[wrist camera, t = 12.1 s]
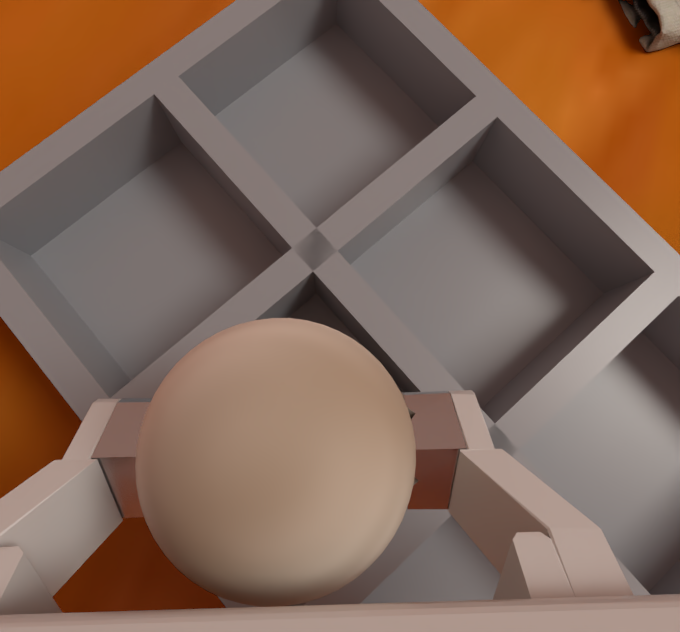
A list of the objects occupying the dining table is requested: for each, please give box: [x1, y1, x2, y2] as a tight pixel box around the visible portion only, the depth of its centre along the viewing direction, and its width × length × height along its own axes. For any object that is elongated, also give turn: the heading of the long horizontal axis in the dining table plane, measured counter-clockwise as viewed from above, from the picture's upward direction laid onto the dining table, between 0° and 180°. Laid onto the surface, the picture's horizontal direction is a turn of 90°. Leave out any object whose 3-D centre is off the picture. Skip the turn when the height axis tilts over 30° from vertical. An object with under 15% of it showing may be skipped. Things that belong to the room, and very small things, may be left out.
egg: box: [135, 318, 416, 607], centre depth 11 cm, size 5×5×10 cm
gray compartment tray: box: [0, 0, 680, 608], centre depth 17 cm, size 25×17×4 cm
